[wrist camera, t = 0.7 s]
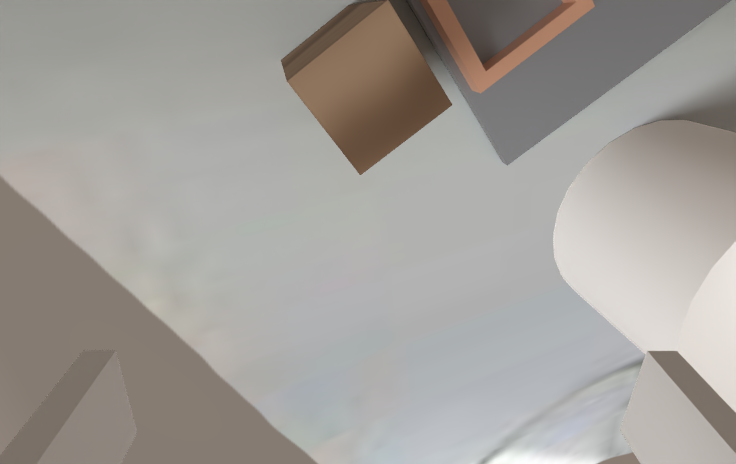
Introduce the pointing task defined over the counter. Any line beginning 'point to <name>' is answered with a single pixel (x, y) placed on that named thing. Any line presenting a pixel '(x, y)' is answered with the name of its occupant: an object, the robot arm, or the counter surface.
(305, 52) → the walnut pillar
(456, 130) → the counter surface
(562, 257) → the cylinder
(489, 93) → the board
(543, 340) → the counter surface
